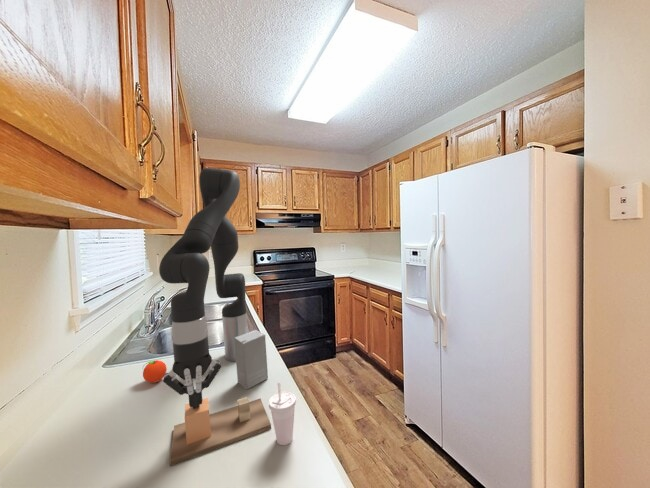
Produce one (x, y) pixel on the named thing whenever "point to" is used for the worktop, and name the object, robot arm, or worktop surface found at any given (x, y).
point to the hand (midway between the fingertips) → (196, 406)
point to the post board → (222, 430)
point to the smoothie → (283, 415)
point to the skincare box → (251, 358)
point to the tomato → (154, 371)
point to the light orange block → (197, 422)
